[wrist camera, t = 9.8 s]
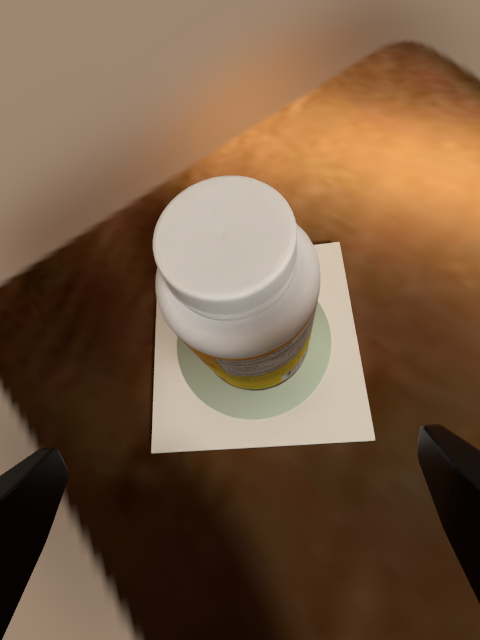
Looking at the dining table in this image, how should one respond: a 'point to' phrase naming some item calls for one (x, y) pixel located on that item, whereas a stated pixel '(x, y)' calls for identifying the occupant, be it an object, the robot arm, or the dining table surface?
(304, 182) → the dining table surface
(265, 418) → the card
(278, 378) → the supplement bottle
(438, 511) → the robot arm
